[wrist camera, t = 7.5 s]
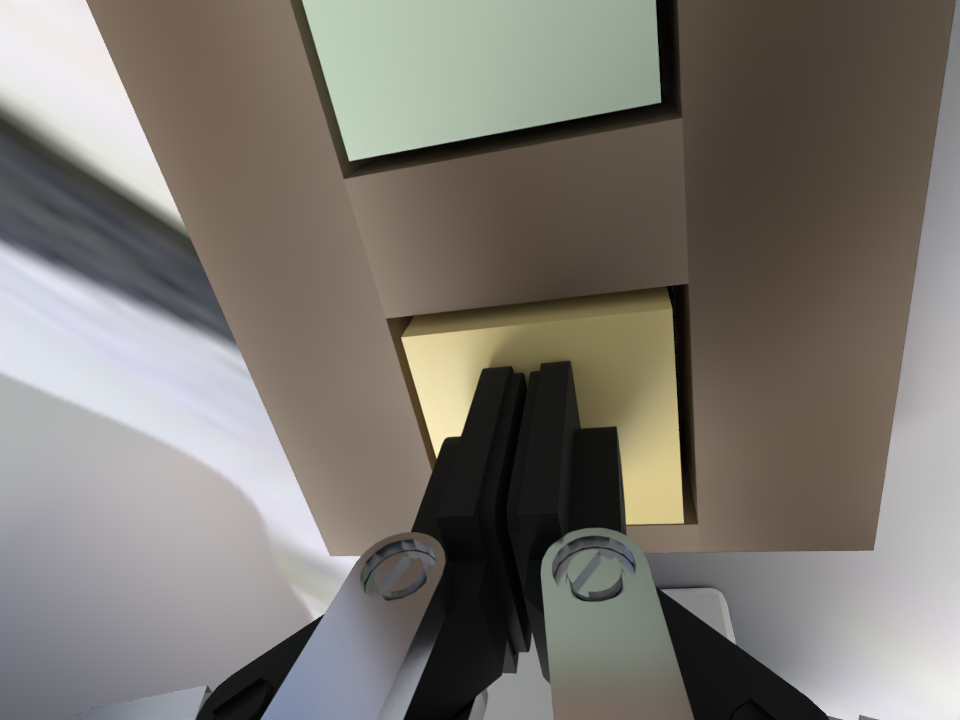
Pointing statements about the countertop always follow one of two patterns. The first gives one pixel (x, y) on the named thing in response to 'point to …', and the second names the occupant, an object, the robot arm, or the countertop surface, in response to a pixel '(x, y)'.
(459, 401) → the ochre key
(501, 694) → the container
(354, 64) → the sage key
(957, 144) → the countertop surface
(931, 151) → the key panel
